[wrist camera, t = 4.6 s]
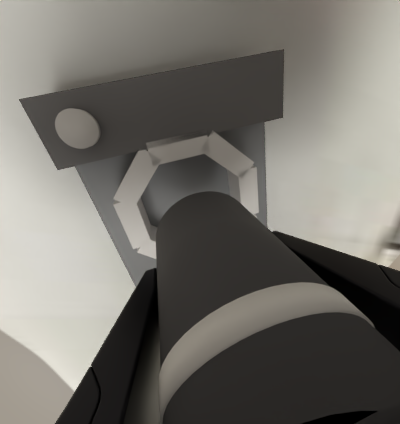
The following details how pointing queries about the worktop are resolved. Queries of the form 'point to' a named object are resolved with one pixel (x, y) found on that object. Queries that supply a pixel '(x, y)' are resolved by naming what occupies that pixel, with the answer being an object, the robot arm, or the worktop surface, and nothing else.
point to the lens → (259, 329)
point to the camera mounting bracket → (164, 142)
